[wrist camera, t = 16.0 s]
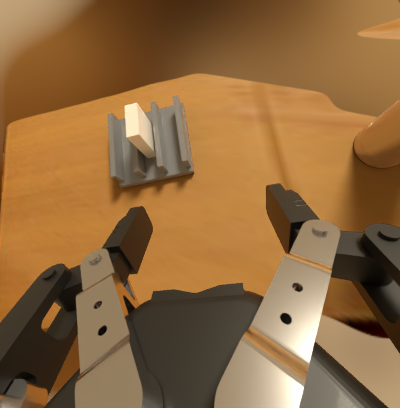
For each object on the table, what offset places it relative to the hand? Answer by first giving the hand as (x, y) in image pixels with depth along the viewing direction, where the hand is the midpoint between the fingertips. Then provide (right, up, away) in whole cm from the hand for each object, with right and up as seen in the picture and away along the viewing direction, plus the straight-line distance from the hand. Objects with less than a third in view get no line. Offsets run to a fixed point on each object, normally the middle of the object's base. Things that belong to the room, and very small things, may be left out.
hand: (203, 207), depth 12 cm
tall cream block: (-12, +15, +31) cm, 36 cm away
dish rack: (-12, +14, +33) cm, 38 cm away
